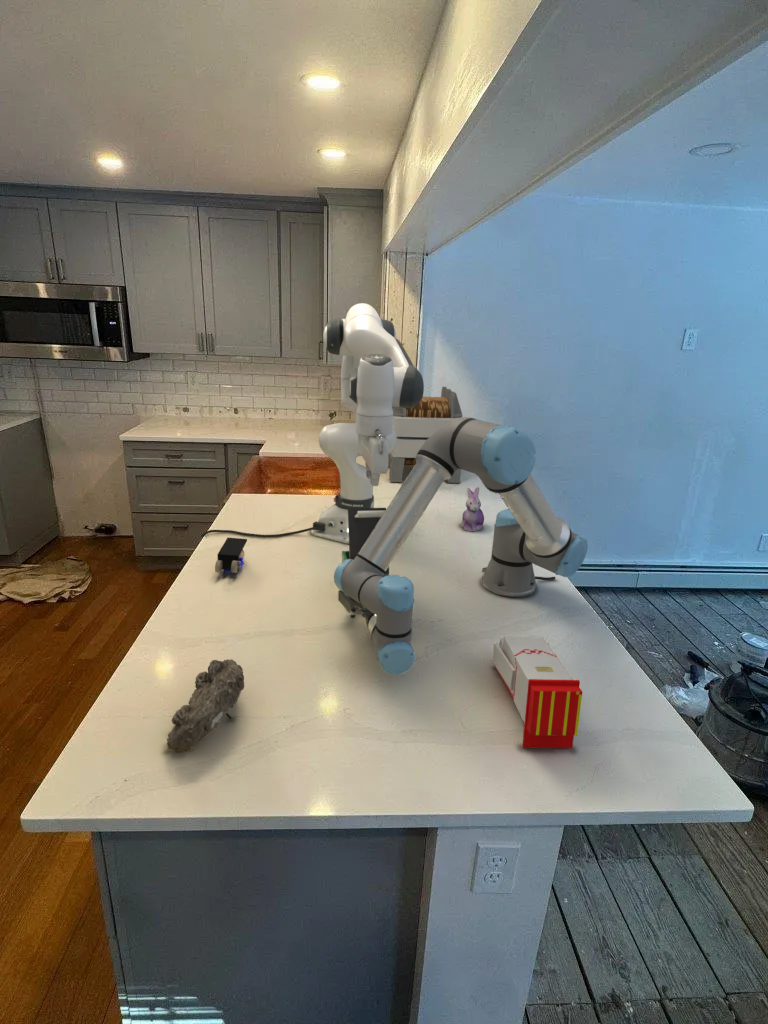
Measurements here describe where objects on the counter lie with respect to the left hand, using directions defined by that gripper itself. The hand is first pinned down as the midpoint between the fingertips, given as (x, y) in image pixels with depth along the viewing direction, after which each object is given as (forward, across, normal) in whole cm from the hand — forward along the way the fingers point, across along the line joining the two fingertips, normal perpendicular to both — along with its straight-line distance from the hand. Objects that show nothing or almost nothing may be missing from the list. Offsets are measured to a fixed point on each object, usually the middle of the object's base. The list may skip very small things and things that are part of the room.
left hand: (372, 481), depth 140 cm
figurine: (+35, +52, -48) cm, 79 cm away
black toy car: (+34, +26, +36) cm, 56 cm away
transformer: (+35, +124, -47) cm, 137 cm away
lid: (+17, +2, 0) cm, 17 cm away
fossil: (+34, -39, +37) cm, 64 cm away
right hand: (+28, +1, 0) cm, 28 cm away
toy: (+34, -43, -26) cm, 61 cm away
